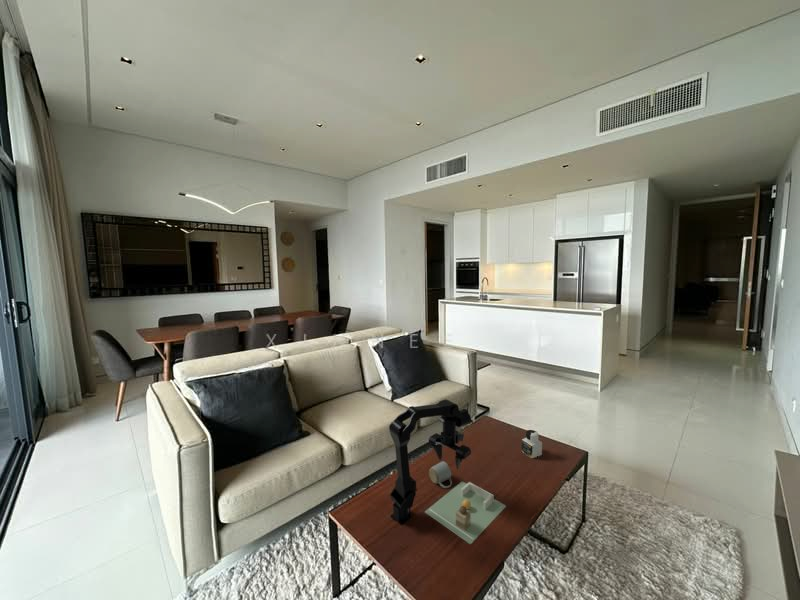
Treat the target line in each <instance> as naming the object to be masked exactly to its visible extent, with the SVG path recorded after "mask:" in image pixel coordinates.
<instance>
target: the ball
mask: <svg viewBox="0 0 800 600" xmlns="http://www.w3.org/2000/svg"><path fill="white" fill-rule="evenodd" d="M462 506H465V507H466V509H469V508H470V507H471V503H470V501H469V500H467V499H465V500H463V502H462Z"/></svg>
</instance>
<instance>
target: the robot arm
mask: <svg viewBox="0 0 800 600" xmlns="http://www.w3.org/2000/svg"><path fill="white" fill-rule="evenodd" d="M437 416H438V417H439V418H438V422H440V423H442V431H441V432H440V433H437V432H436V433H434V434H432V435H431V436H430V435H429V438H428V444H430V446H431V447H432V448H433V450H434V451H435V453H436V456H437V459H439V461H441V460H442V458H443V446H444V447H446V448H448V449H451V450H453V451H455V456H454V458H455V467H456V470H459V468H460V467H461V464H462V462H463V460H465V459H467V458H468V457H469V456H471V455H472V449H471V447H469V446H466V444H462V445H458V444H459V443H460V442H463V441H464V437H465V433H464V432H461V431H458V430H457V428H462V427H464V426H468V425H470V424H471V423H472V416H471V415H470V413H469V410H468V409H467V408H463V409H459V406H458V404H457V403H455V402H453V401H451V400H449V399H448V398H447V399H443V400H440V401H438V403H436V404H434V403H433V404H425V405H419V406H418V405H417V406H413V405H412V406H409V407H408V408H407V409H406V410H405V411H403V412H402V413H400V414H399V415H397V416H396V417H395V418H394V420H392V422H390V424H389V426H388V429H389V434H390V436H391V439H392V441H393V443H394V447H395V459H396V460H395V461H396V469H397V478H396V480H395V482H394V484H395V485H394V488H393V489H392V490H391V493H389V497H390V499H391V500H392V502H393V504H392V507H393V508H392V511H393V512H392V514H391V515H390V518H391V519H392V520H394V521H395V522H397V523H398V524H399V525H400V526H403V525H405V523H407V522H409V521H410V520H411V518H413V517H414V516H413V514H412V513H411V508H412V507H413V504H414V500H415V498H416V494H417V492H418V490H417V482H416V480H415V479H414V478H413V477H412V476H411V471H410V462H409V461H410V459H409V449H408V445H409V442H410V441H411V434H412V433H413V432H414V430H415V429H416V426H417V423H418V421H419V419H424V418H430V417H437ZM408 419H409V422H408V424H406V423H404V422H405V421H407V420H408Z"/></svg>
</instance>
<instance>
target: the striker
mask: <svg viewBox="0 0 800 600" xmlns="http://www.w3.org/2000/svg"><path fill="white" fill-rule="evenodd" d="M456 525H457V526H458V527H460V528H461V529H463V530H464V531H465V530H466V529H467V528H468V527H469V526H470V525H471V512H469V511H468V510H467V509H466V507H465V506H461V507H460V509H459V510H458V511H457V512H456Z"/></svg>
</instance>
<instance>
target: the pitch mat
mask: <svg viewBox="0 0 800 600" xmlns="http://www.w3.org/2000/svg"><path fill="white" fill-rule="evenodd" d="M466 484H467V483H466V482H464V481H460V482H459V483H458V484H457V485H455V486H454V487H453V488H451V489H450V491H448V492H447V493H446V494H444V495H443V496H442V497H440V499H439V500H437V501H436V502H435V503H433V504H432V505H431V506H429V508H427V509H426V510H425V511H424V513H425V514H426V515H428V516H430V517H431V518H433V519H434V520H435V521H436V522H438V523H440V525H442V526H443V527H445V528H446V529H448V530H449V531H451V532H452V533H454V535H456V536H458V537H459V538H461V539H462V540H463V541H465V542H466V543H467V544H469V545H472V544H473V542H474V541H476V540H477V538H478V537H480V535H481V534H482V533H483V532H484V530H486V529H487V527H488V526H490V524H491V523H492V522H493V521H494V520H495V519H496V518H497V517H498V516H499V514H500V513H502V512H503V510H504V509H505V508H506V507H507V505H506V504H504V503H502V502H501V501H498V500H497V499H494V502H493V503H492V504H491V505H490V506H489V507H488V508H487V509H486V510H484V509H483V502H484V501H485V500H486V499H485V498H483V497H481V496H479V495H477V494H476V493H474V492H472V491H469V492H467V493H466V494H465V495H464V496H461V488H463V487H464V486H465V485H466ZM465 499H467V500H469V501H470V503H471V507H470V508H469V509H467V510H468V511H469V512H471V525H470V526H469V527H468V528H467V529H466V530H465V531H464V530H463V529H461V528H460V527H458V526H457V525H456V512H457V511H458V510H459V509H460V507H461V506H462V502H463V500H465Z"/></svg>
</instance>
